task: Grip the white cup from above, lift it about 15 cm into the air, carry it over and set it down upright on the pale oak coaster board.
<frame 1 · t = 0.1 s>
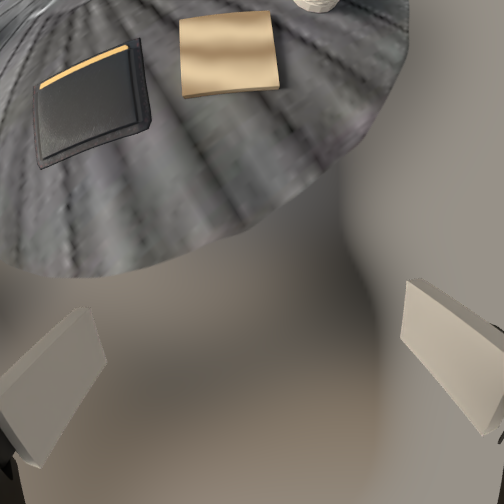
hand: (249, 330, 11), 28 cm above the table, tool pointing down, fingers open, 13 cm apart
black book: (86, 103, 35), on the table
oak coaster board: (227, 53, 33), on the table
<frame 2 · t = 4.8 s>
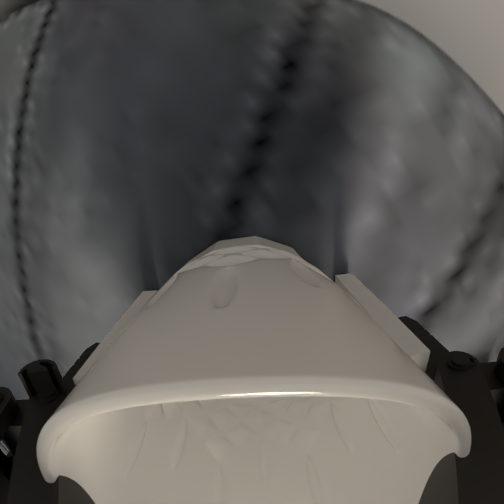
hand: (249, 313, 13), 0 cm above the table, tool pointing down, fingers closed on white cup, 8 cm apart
white cup: (248, 309, 13), on the table, touching gripper
when the fingers open (3 cm above the table, at t = 11.9 s): white cup drops 1 cm, resting on oak coaster board.
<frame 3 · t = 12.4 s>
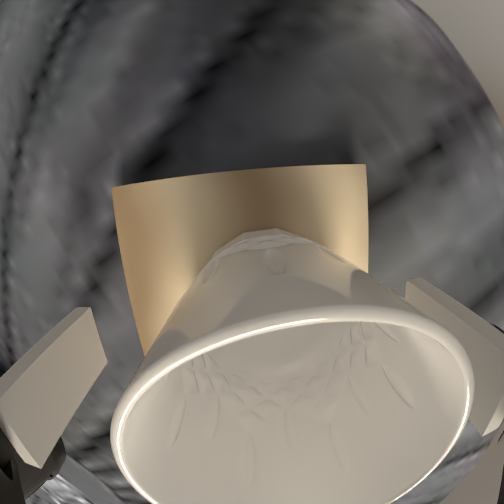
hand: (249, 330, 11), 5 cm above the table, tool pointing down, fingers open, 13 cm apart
white cup: (268, 295, 15), point 1 cm above the table, touching oak coaster board
oak coaster board: (248, 287, 16), on the table
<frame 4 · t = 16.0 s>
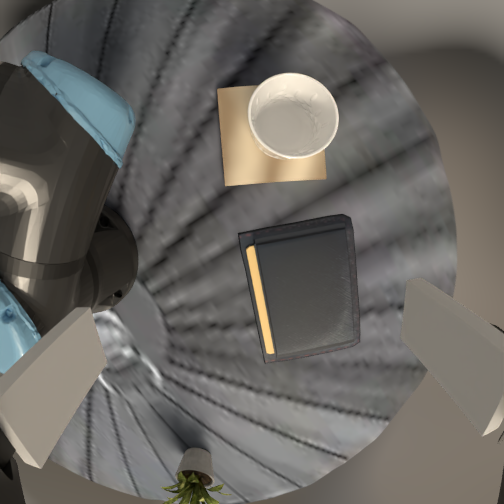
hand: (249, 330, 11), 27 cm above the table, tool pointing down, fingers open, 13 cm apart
white cup: (280, 131, 33), point 1 cm above the table, touching oak coaster board
black book: (305, 292, 41), on the table
house plant: (205, 456, 48), on the table
oak coaster board: (271, 133, 35), on the table
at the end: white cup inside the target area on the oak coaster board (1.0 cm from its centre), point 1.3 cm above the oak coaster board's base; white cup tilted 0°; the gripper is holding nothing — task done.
